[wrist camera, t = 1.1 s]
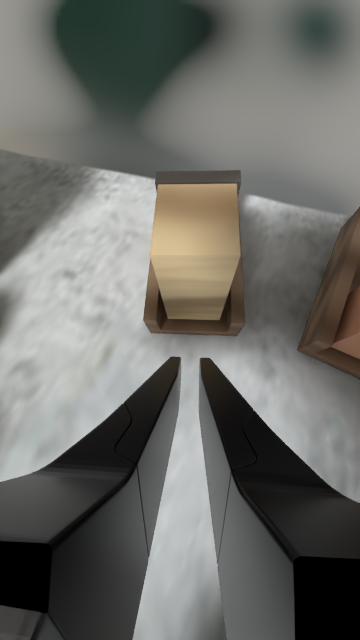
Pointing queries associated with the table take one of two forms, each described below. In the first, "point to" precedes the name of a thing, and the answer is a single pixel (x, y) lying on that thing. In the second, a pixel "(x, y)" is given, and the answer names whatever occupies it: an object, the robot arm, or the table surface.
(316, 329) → the dark wooden block holder
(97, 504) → the robot arm
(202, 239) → the oak slider
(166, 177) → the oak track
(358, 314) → the terracotta slider
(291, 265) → the table surface
